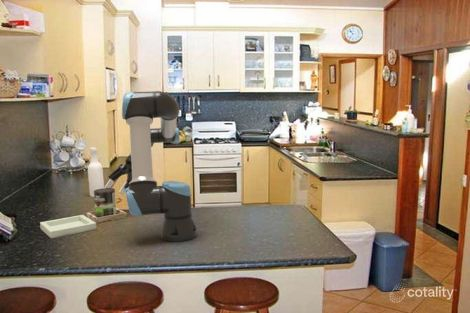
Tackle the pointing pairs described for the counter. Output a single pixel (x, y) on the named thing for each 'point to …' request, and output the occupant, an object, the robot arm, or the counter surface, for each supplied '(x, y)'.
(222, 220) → the counter surface
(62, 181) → the counter surface
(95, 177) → the alcohol
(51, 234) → the tray
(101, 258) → the counter surface
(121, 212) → the collar
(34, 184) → the counter surface
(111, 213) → the coffee can
